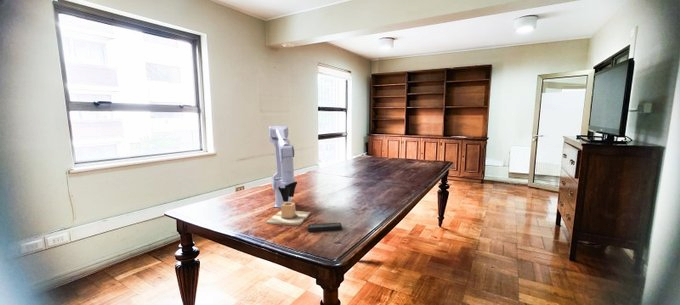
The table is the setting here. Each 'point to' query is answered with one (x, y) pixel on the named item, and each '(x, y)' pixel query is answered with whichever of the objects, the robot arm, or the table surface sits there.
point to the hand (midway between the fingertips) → (288, 199)
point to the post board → (289, 219)
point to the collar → (288, 210)
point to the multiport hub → (324, 227)
